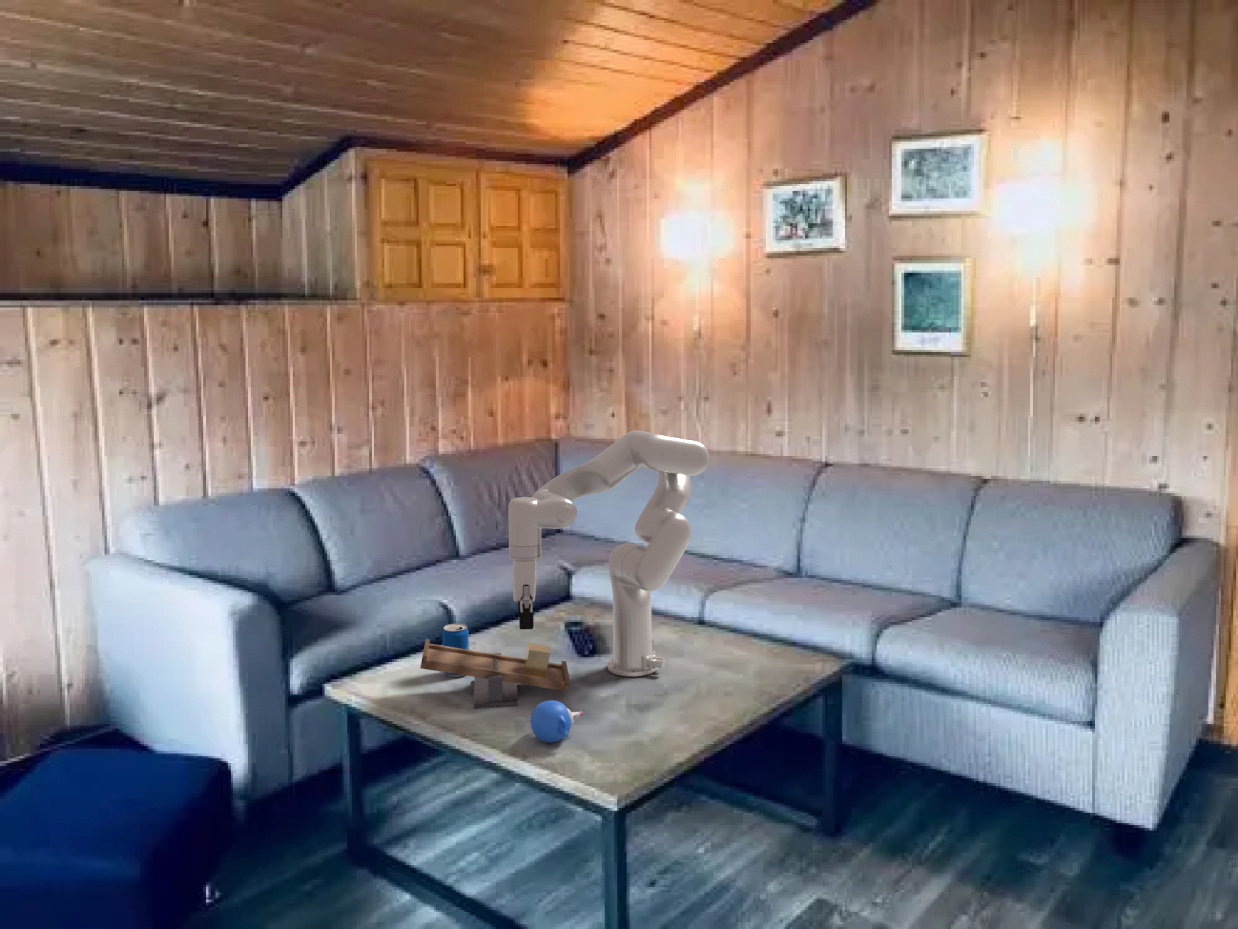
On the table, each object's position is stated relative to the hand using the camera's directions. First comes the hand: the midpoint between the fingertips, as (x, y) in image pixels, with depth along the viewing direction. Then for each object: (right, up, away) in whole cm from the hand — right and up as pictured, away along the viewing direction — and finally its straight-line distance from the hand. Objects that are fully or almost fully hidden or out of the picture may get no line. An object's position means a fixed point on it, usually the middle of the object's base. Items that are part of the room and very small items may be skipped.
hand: (525, 622), depth 246 cm
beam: (-7, -11, +1) cm, 13 cm away
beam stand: (-7, -17, +2) cm, 18 cm away
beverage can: (-18, -15, +15) cm, 28 cm away
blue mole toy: (+9, -21, -24) cm, 33 cm away
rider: (+2, -12, +2) cm, 12 cm away
